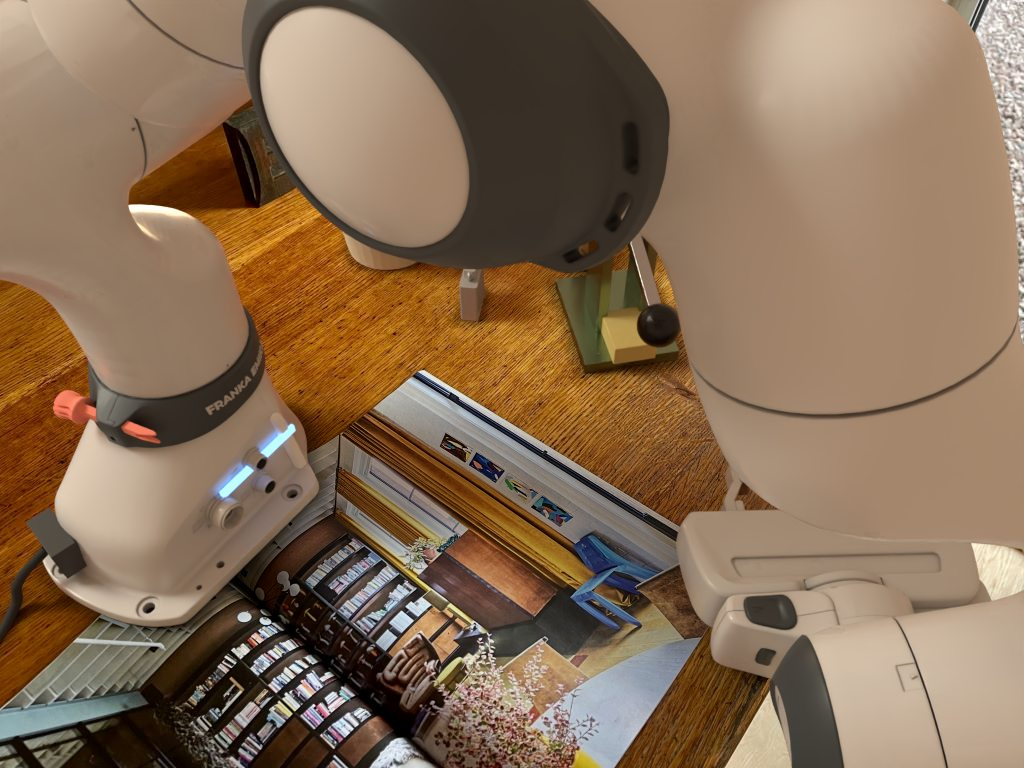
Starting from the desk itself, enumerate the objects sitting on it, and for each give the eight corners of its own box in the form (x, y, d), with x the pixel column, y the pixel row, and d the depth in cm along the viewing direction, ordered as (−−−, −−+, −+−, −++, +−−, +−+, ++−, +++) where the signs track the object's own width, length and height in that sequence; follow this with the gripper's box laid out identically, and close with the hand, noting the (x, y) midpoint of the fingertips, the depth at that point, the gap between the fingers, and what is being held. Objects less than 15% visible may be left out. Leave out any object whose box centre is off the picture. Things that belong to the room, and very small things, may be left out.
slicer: (677, 359, 80) (703, 233, 69) (584, 373, 79) (595, 248, 68) (640, 276, 88) (658, 151, 77) (555, 287, 87) (560, 162, 76)
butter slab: (655, 358, 79) (658, 343, 77) (613, 364, 78) (615, 349, 77) (639, 321, 82) (641, 305, 81) (599, 326, 82) (600, 311, 80)
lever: (680, 351, 71) (691, 331, 68) (638, 358, 71) (647, 338, 67) (638, 210, 77) (646, 185, 73) (599, 215, 76) (606, 190, 73)
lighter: (478, 321, 84) (475, 257, 78) (460, 319, 84) (456, 256, 78) (489, 273, 89) (487, 210, 83) (473, 272, 89) (469, 208, 83)
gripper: (1025, 611, 55) (946, 439, 64) (705, 620, 54) (672, 446, 64) (985, 654, 59) (916, 488, 69) (690, 662, 59) (661, 494, 68)
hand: (797, 468), depth 66 cm, fingers open, 8 cm apart
